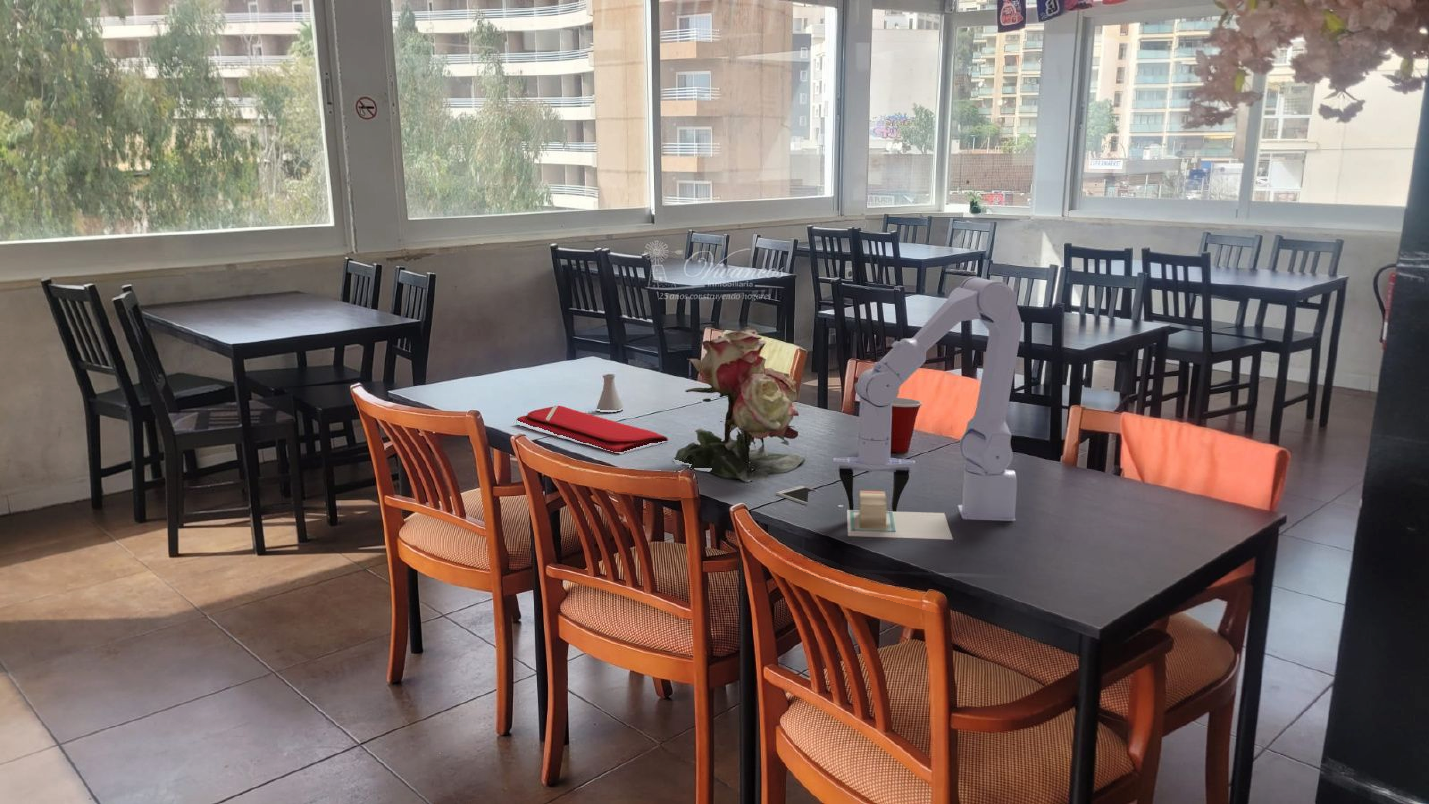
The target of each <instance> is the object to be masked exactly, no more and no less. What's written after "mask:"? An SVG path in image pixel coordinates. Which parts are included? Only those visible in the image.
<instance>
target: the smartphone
mask: <svg viewBox="0 0 1429 804" xmlns="http://www.w3.org/2000/svg"><path fill="white" fill-rule="evenodd" d="M809 492H820V491H818V490H817V489H812V488H810V487H807V486H803V485H798V486H794V487H791V488H787V489H783V490H779V491H776V493H775V494H776V496H779V497H782V498H785V499H787V500H791V501H794V502H796V503H799V504H803V505H805V506H808V503H809V501H808V500H809ZM837 507H839V508H842V507H844V505H843V504H840V505H839V504H838V505H837Z"/></svg>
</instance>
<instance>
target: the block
mask: <svg viewBox="0 0 1429 804" xmlns="http://www.w3.org/2000/svg"><path fill="white" fill-rule="evenodd" d="M887 503H888V502H887V497H886V491H881V490H880V491H878V490H859V503H858V504H859V509H858V510H859V520H860V528H866V529H886V514H887V511H888V505H887Z"/></svg>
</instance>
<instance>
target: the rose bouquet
mask: <svg viewBox="0 0 1429 804" xmlns="http://www.w3.org/2000/svg"><path fill="white" fill-rule="evenodd" d="M701 344H702V346H703V350H705V351H706V353H705V354H704V357H703V358H702V359H701V360H699V359H698V358H686V359H687V361H690V362H691V364H693V367H694V368H695V369H696V371H697V372H698V374H699V375H700V376H701V377H702V379H703V380H704V381H705V382H706V384H708V385H709V386H710V387H694V388H688V389H686V390H685V391H684V392H686V393H692V392H693V393H701V394H702V393H703V394H715V393H718V394H719V396H717V397H716V399H718V398H723V397H727V402H728V405H727V411H726V413H725V420H724V421H723V420H722V421H721V420H719V423H724V433H723V434H724V440H723V439H722V438H720V437H719V436H717V435H715V434H714V433H713V431H712V430H710V431H709V430H706V429H703V428H698V429H697V430H695V431H694V432H695V433H696V436H697V437H696V438H697V439H696V440H697V441H698V442H699V443H696V442H691V443H688V444H687V445H686V446H685V447H682V448H679V449H678V450H676V451H677V452H676V453H675V454H676V455H675V457H674V458H673V459H675V460H679V461H682V462H684V463H689V464H692V465H691V467H690V468H692V469H694V468H712V470H711V471H710V473H711V474H713V475H716V476H718V477H722V478H724V479H725V478H726V479H731V480H741V481H742V482H745V483H750V482H754V481H757V480H758V479H761V480H763V481H765V482H767V480H765V479H766V477H767V476H768V475H769V474H771V473H772V474H773V473H774V474H775V473H779V474H780V473H782V474H783V473H787V472H791V470H794V469H796V468H797V467H799V465H800V464H801V463H802V462H803V461H804V460H806V457H807V456H806V455H805V456H798V455H795V454H792V453H790V452H789V454H783V453H775V452H768V451H767V450H766V449H765V443H764V442H765V438H767V437H769V438H775V437H776V438H779V439H781V440H782V441H781V442H780V443H781V444H783V445H786V446H789V445H790V443H789V441H788V440H786V439H790V440H791V439H792V440H793V439H796V438H797V437H798V436H799V431H798V430H797V429H796V430H795V429H793V428H795V426H794V425H793V426H792V425H790V423H791V421H793V419H794V417H795V416H796V417H798V416H799V415H800V414H799V412H798V410H797V408H796V406H795V405H794V404H793V403H795V402H796V401H797V398H798V393H797V391H796V390H797V389H796V387H795V385H796V383H797V382H796V381H795V380H794V379H792V377H791V375H790V374H789V373H786V372H783V371H779V370H775V369H773V367H765V364H766V361H767V359H766V358H765V357H763V355H762V356H761V352H762V350H763V348H764V347H765V345H766V344H767V341H766V340H762V336H759V332H757V330H756V329H755V328H751V327H750V326H749V327H748V326H745V327H742V328H740V331H734V330H733V329H731V331H730V332H729V333H725V334H723V336H722V335H718V336H717V338H715V339H714V338H713V339H711V340H704V341H701ZM702 401H703V402H705V403H706V402H707V403H710V402H712V400H711V398H710V397H709V398H704V399H702ZM733 430H736V431H737V435H736V439H732V438H731V433H732V432H733ZM785 438H786V439H785ZM755 439H756V440H759V441H760V442H761V445H760V447H759V448H757V449H756V448H755V449H754V450H751V447H750V446H751V444H752V443H753V446H754V447H756V442H755ZM749 462H750V463H751V465H752V466H753V468H754V469H753V468H752V469H753V470H751V469H749V468H751V466H750V463H749ZM688 468H689V466H687V467H686V469H688ZM692 469H691V470H692ZM749 472H751V473H749ZM710 473H709V474H710Z"/></svg>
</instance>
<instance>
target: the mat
mask: <svg viewBox="0 0 1429 804" xmlns="http://www.w3.org/2000/svg"><path fill="white" fill-rule="evenodd" d="M846 518H847V519H846V520H847V521H846V522H847V536H848V537H869V538H892V539H893V538H897V539H921V540H922V539H923V540H952V541H953V539H954V538H953V536H952V532H951V530H950V526H949V523H948V520H947V517H946V514H945V512H925V511H923V512H922V511H919V512H918V511H896V512H892V510H890V511H889V510H887V514H886V529H866V528H860V520H859V509H858V510H857V509H855V510H854V509H853V510H849V509H847V510H846Z"/></svg>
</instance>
